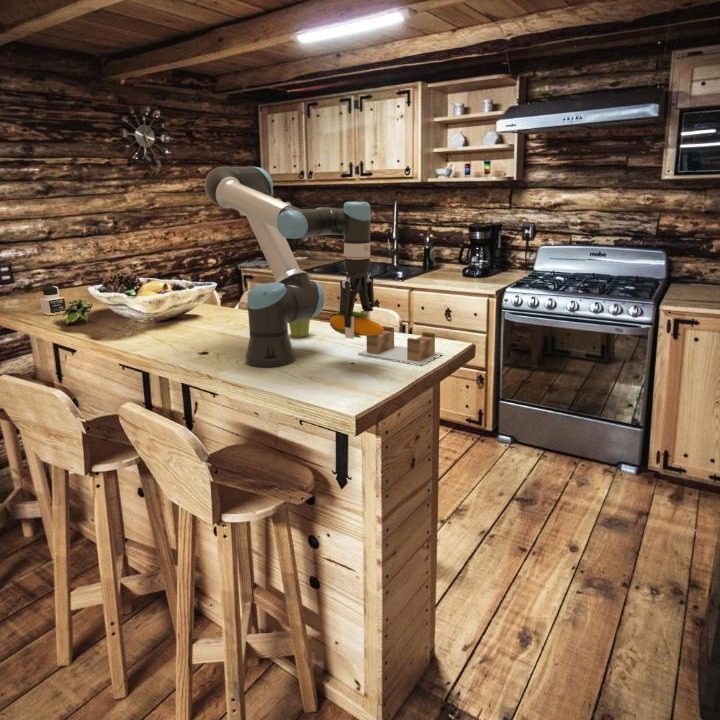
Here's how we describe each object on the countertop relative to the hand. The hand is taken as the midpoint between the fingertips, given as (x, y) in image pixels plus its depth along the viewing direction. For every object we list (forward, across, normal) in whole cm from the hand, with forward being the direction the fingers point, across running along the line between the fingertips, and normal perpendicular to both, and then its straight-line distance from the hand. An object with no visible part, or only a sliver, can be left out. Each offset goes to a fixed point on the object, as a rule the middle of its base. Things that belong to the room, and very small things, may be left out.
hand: (357, 334), depth 180 cm
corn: (+1, 0, 0) cm, 1 cm away
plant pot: (+10, +18, +38) cm, 43 cm away
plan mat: (+9, +15, -6) cm, 19 cm away
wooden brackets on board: (+9, +15, -6) cm, 19 cm away
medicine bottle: (+13, -8, +156) cm, 157 cm away
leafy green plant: (+12, -12, +129) cm, 130 cm away
